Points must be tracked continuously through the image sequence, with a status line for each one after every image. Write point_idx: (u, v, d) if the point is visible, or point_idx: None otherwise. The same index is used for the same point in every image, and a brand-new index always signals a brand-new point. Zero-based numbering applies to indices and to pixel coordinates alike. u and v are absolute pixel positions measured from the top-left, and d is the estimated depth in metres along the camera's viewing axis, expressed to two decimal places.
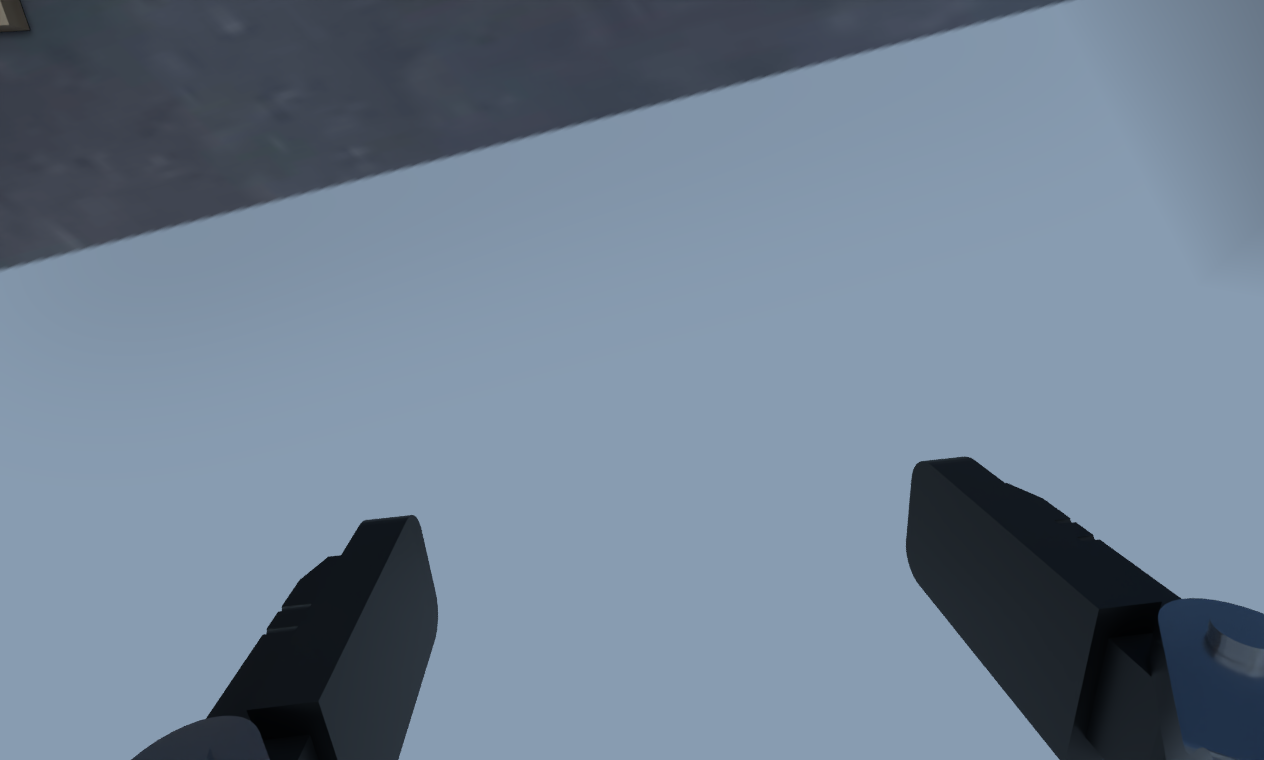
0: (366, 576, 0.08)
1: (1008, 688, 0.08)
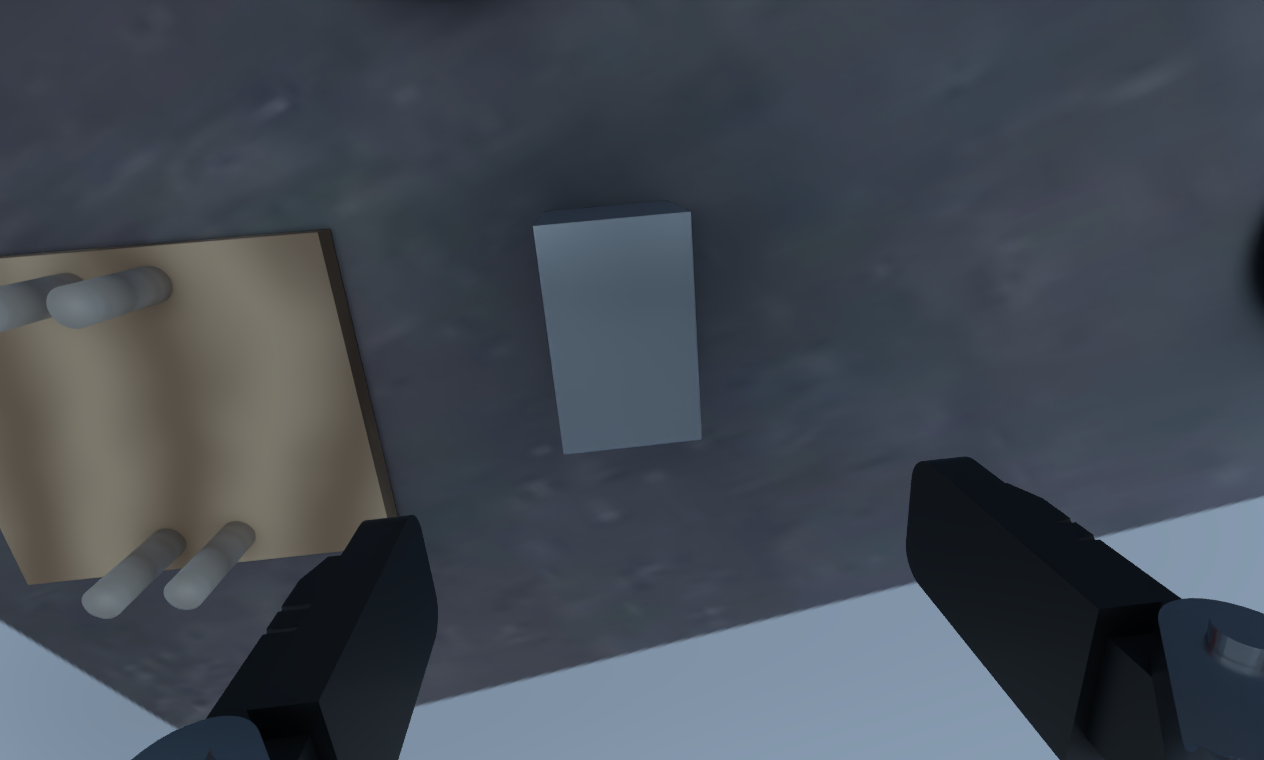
0: (366, 576, 0.08)
1: (1007, 688, 0.08)
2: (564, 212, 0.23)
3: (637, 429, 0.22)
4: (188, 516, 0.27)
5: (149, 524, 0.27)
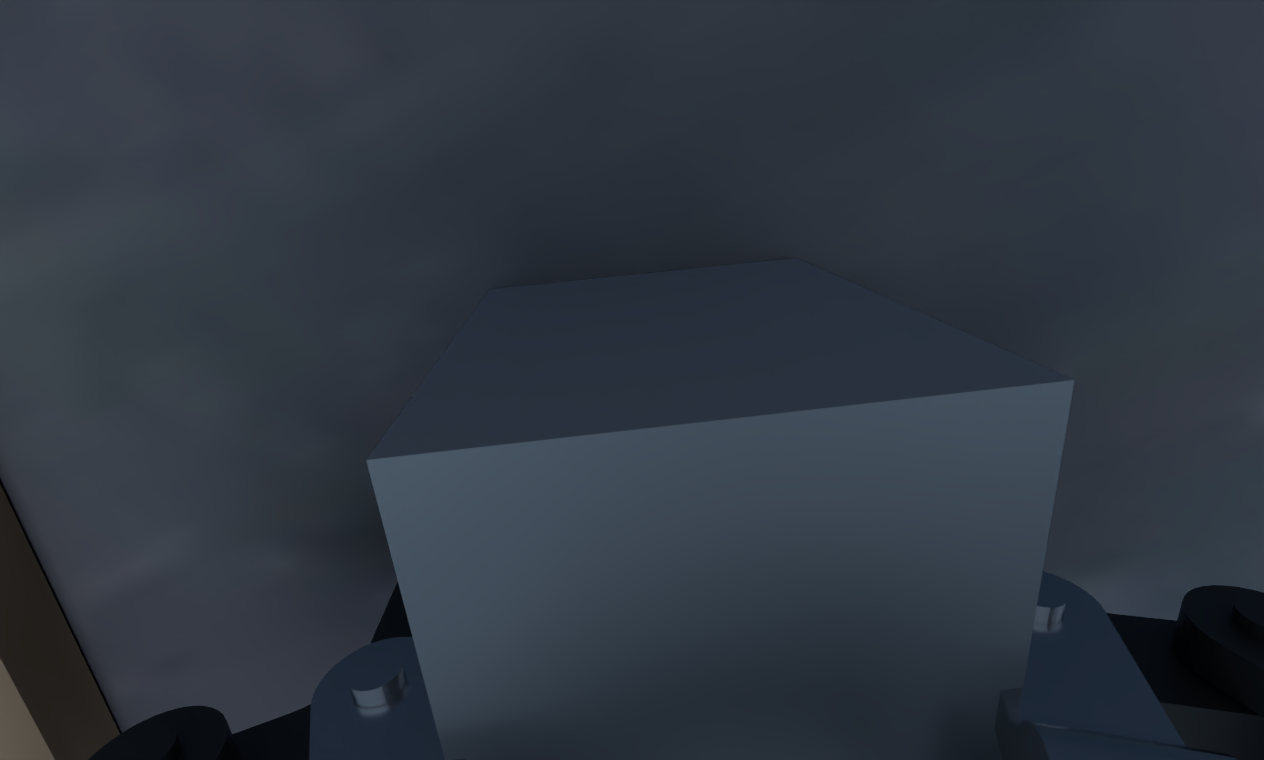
0: None
1: None
2: (537, 305, 0.08)
3: None
4: None
5: None
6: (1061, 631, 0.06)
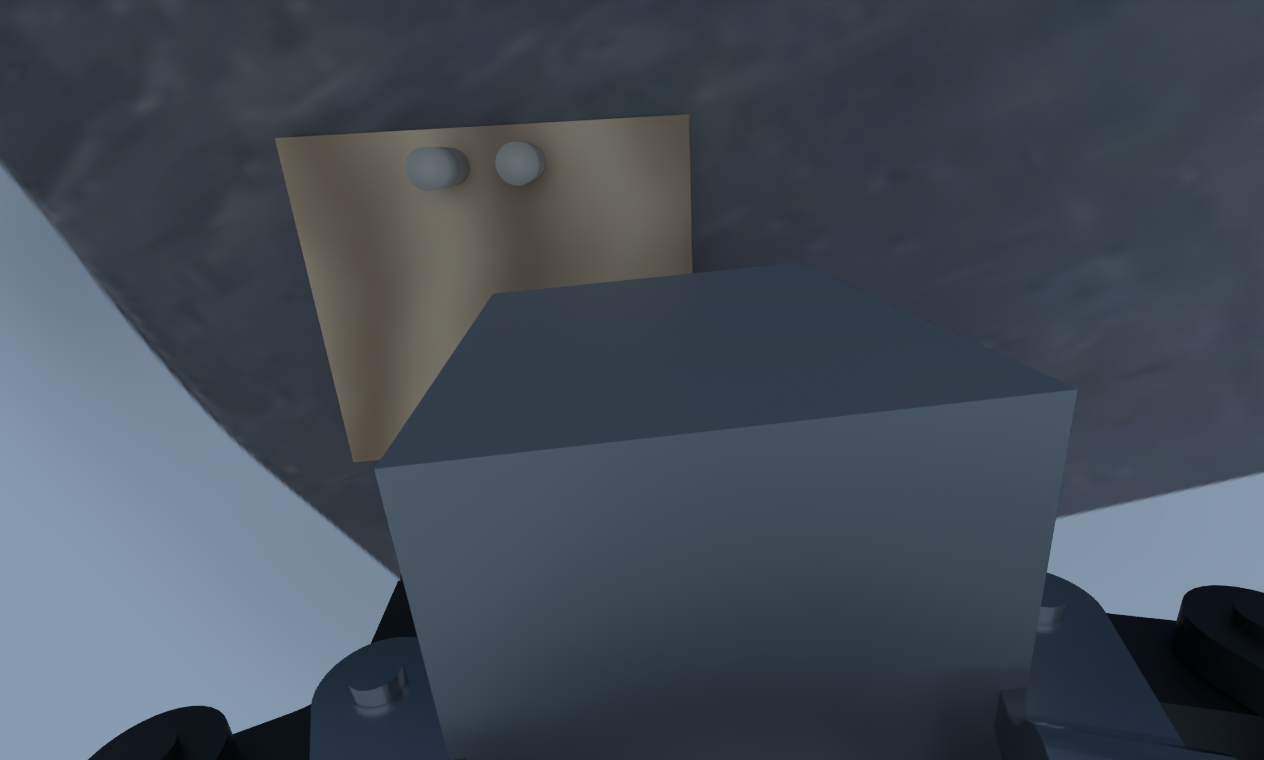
0: None
1: None
2: (541, 310, 0.08)
3: None
4: None
5: None
6: (1060, 631, 0.06)
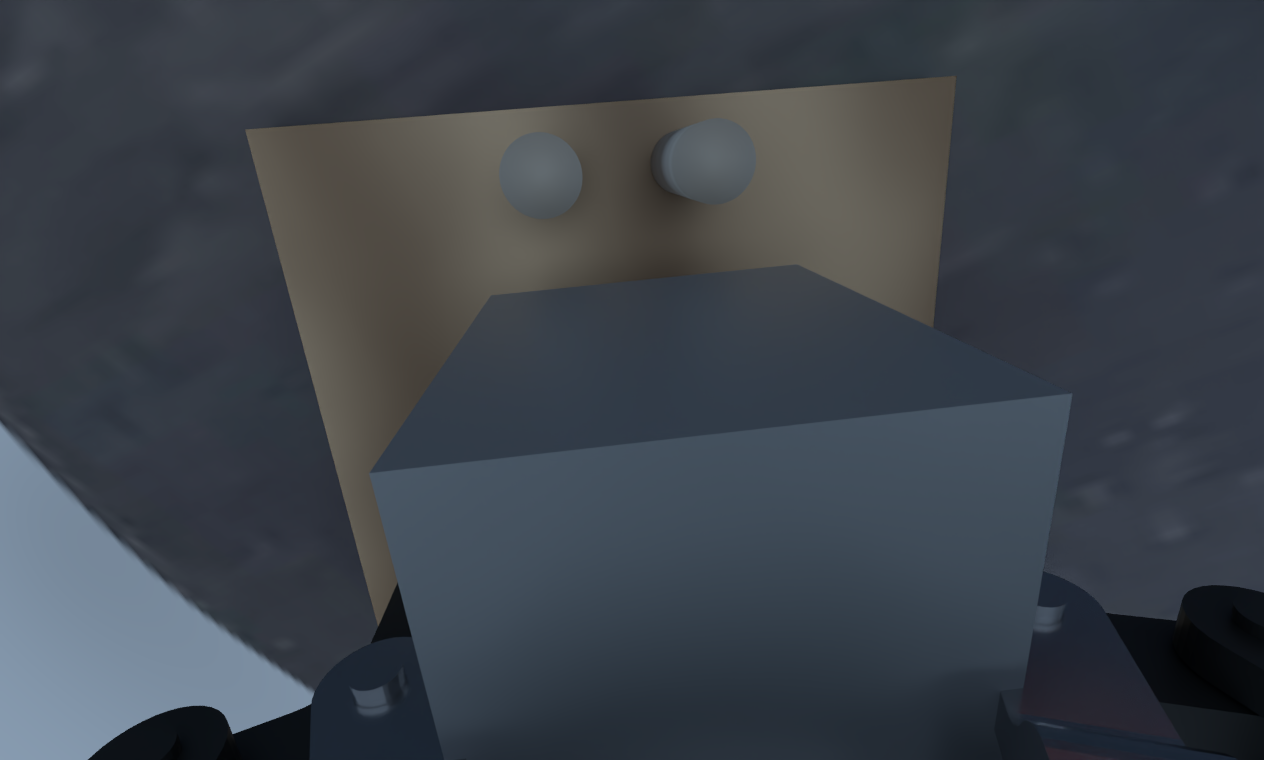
0: None
1: None
2: (538, 312, 0.08)
3: None
4: None
5: None
6: (1061, 631, 0.06)
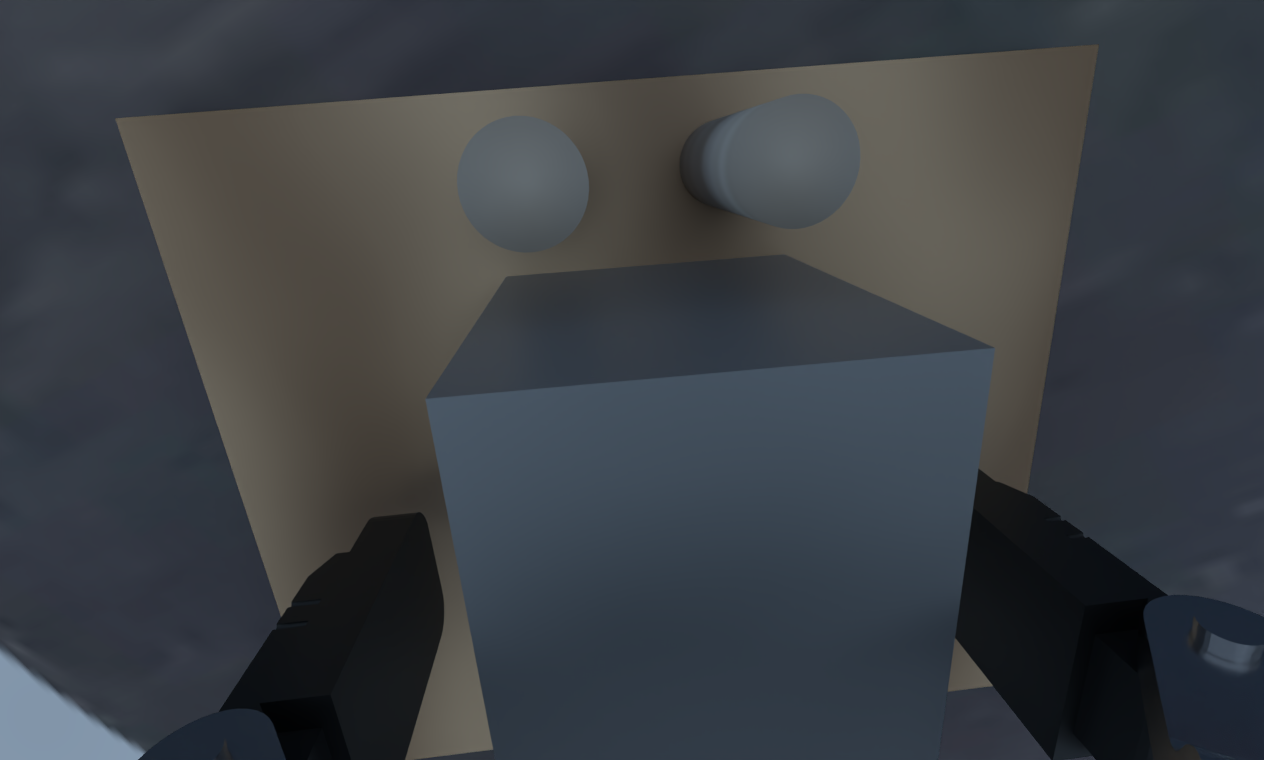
0: (375, 572, 0.08)
1: (998, 684, 0.08)
2: (551, 289, 0.09)
3: None
4: None
5: None
6: None
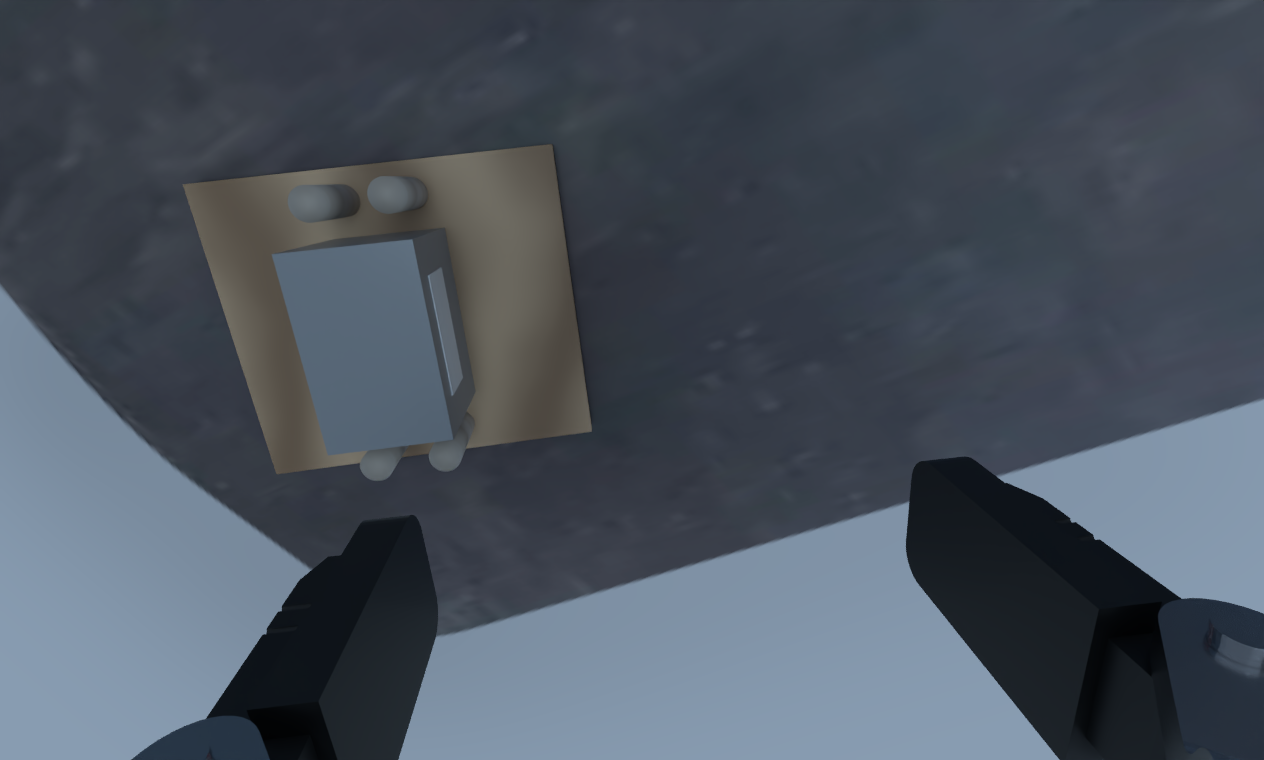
0: (366, 576, 0.08)
1: (1007, 688, 0.08)
2: (340, 240, 0.26)
3: (392, 431, 0.25)
4: None
5: None
6: None
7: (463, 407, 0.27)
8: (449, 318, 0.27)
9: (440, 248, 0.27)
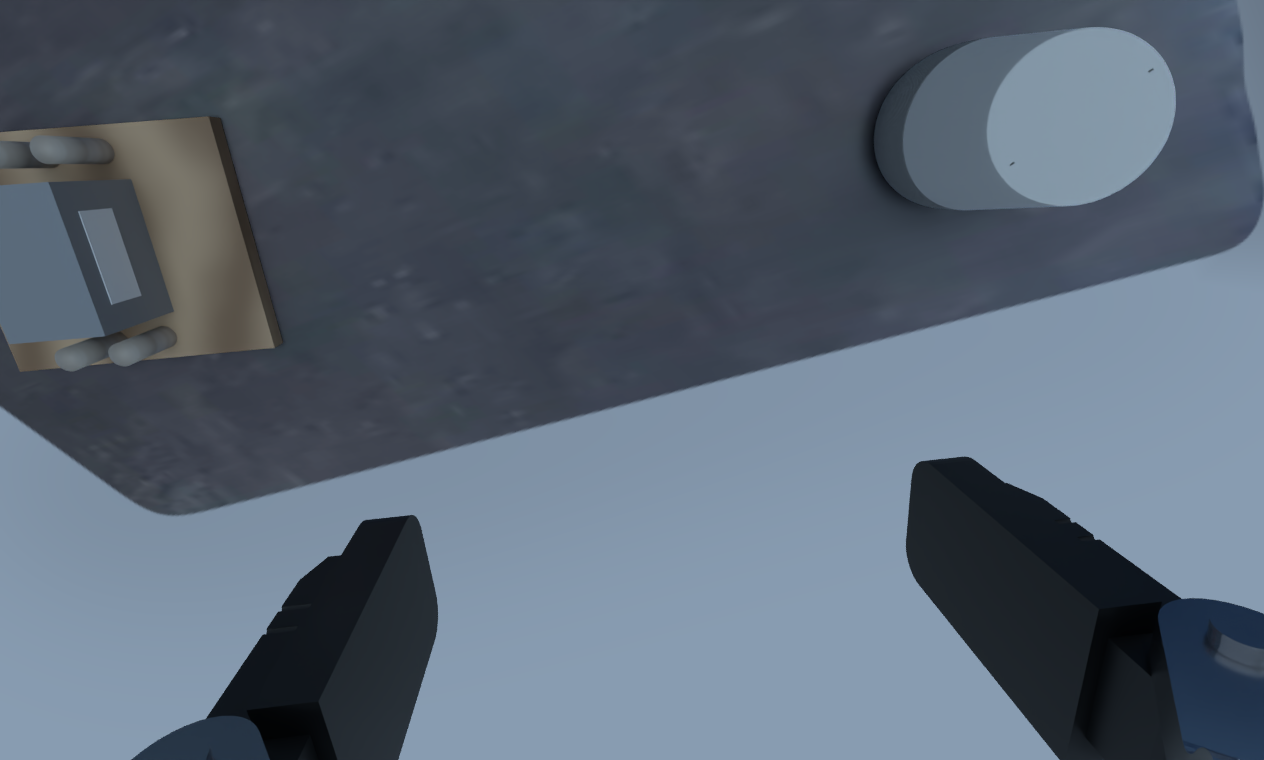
0: (366, 576, 0.08)
1: (1008, 688, 0.08)
2: None
3: (56, 328, 0.33)
4: None
5: None
6: None
7: (137, 317, 0.36)
8: (120, 247, 0.35)
9: (115, 194, 0.35)
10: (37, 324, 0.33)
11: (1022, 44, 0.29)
